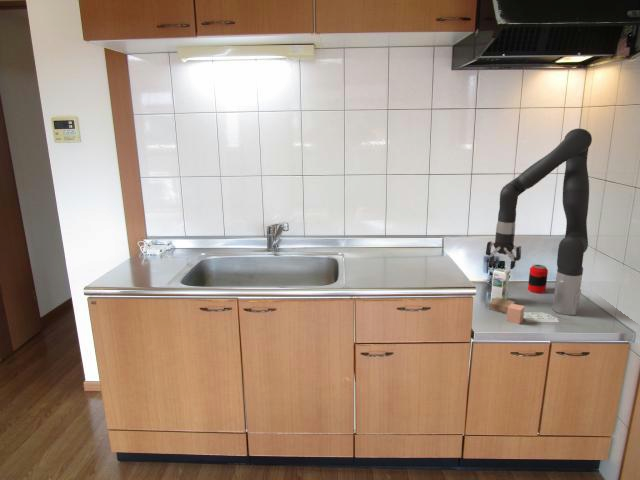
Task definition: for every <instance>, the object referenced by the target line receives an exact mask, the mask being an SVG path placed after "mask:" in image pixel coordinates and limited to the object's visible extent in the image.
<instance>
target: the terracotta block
mask: <svg viewBox="0 0 640 480" xmlns="http://www.w3.org/2000/svg"><path fill="white" fill-rule="evenodd" d="M524 315H525V306H524V305H522V304H521V305H520V304H516V303H515V304H511V305H510V306H509V307H508V310H507V314H506V322H510V323H514V324H516V325H520V324H521V323H522V322H523V321H524Z"/></svg>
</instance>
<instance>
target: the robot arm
mask: <svg viewBox="0 0 640 480" xmlns="http://www.w3.org/2000/svg"><path fill="white" fill-rule="evenodd" d="M592 142H593V137H592V134H591V133H590V131H588V130H586V129H584V128H574V129H571V130H569V131H568V132H567V133H566V134H565V136H564V139H563V140H562V141H561V142H560V143H559V144H558V145H557V146H556V147H555V148H554V149H553V150H551V151H550V152H549V153H547V154H546V155H545V156H544V157H541V159H539V160H537V161H536V162H535V163H532V164H531V165H530V166H529V167H528V168H526V169H525V170H523V171H522V172H521V173H520V174H519V175H518V176H516V178H513V179H512V180H511V181H509V182H508V183H506V184H505V185H504V186H503V187H502V188H501V190H500V193H499V210H498V213H497V223H496V228H495V238H494V239H495V240H494V242H493V241H492V240H490V241H488V242H486V244H487V245H486V248H485V249H486V250H485V255H486V256H489V261H488V262H489V264H490V266H494V264H495V255H496V254H497V253H498V254H501V255H502V254H503V255H507V257H509V259H510V265H509V266H510V267H509V270H513V269H515V267H516V263H517V261H520V260H521V257H522V246H521V245H519V246H517V245H516V246H515V245H514V244H515V243H514V241H515V236H516V235H515V234H516V218H517V205H518V200H519V196H520V195H522V194H523V193H525V191H526V190H528V189H530V188H532V187H534V186H535V185H537V184H538V183H540V182H541V181H542V180H543V179H544V178H546V177H547V176H548V175H549V174H551V173H552V172H553V171H554V170H556V169H557V168H558V167H559V166H561V165H562V164H563V163H565V168H564V169H565V170H564V175H563V183H562V184H563V185H562V207H563V211H564V215H565V219H566V225H565V226H566V227H565V233H564V234H565V235H564V238H562V239H561V241H560V242H559V244H558V249H557V259H556V265H557V269H556V277H555V278H556V279H555V284H554V294H553V300H552V301H553V302H552V307H551V308H552V310H553V311H554V312H555V313H558V314H561V315H564V316H576V315H577V314H578V311H579V308H580V301H581V295H582V294H581V293H582V290H581V289H582V288H581V287H582V282H583V281H582V278H583V273H584V268H583V262H584V261H583V260H584V254H585V252H586V251H587V250H588V247H589V239H588V227H587V224H588V223H587V222H588V221H587V220H588V213H589V202H590V179H589V172H588V156H589V155H588V153H589V149H590V147H591V144H592ZM492 247H493V248H494V250H493V251H492V252H491V250H492ZM513 250H514V251H515V252H516V253H514V252H513Z"/></svg>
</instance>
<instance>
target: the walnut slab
mask: <svg viewBox="0 0 640 480" xmlns="http://www.w3.org/2000/svg"><path fill="white" fill-rule="evenodd" d="M511 304H516V302H515V301H513V300H510V299H507V300H506V299H501V298H497V297H496V298H495V299H494V300H492V301H491V300H490V302H489V306H488V310H490V311H493V312H498V313H501V314H505V315H507V310H508V307H509V306H510V305H511Z"/></svg>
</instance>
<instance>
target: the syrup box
mask: <svg viewBox="0 0 640 480" xmlns="http://www.w3.org/2000/svg"><path fill="white" fill-rule="evenodd" d="M510 270H511V269H502V268H495V269H494V270H493V272H492V283H491V295H490V302H491V301H492V300H494V299H495V298H496V297H497V298H501V299H506V300H508V291H509V281H510V272H511V271H510Z"/></svg>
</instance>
